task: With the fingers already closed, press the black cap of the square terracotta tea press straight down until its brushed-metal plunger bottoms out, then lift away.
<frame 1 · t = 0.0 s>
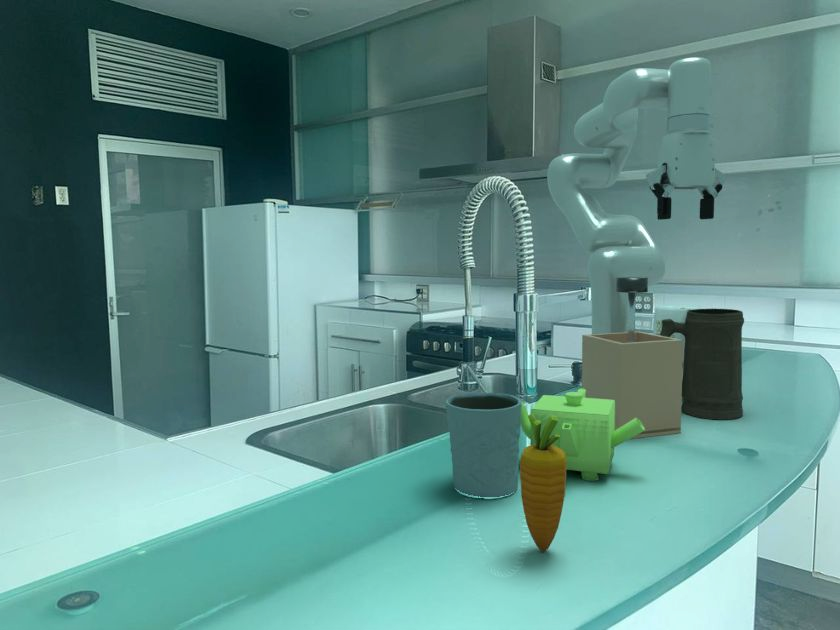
hand: (685, 219, 123), 37 cm above the counter, tool pointing down, fingers open, 9 cm apart
beer stein: (698, 413, 122), on the counter
gray cup: (483, 488, 86), on the counter
carrot: (543, 553, 68), on the counter
plunger: (631, 322, 111), point 19 cm above the counter, slide at 0.0 cm
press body: (629, 426, 113), on the counter
juice carton: (675, 396, 136), on the counter
kettle: (571, 468, 93), on the counter
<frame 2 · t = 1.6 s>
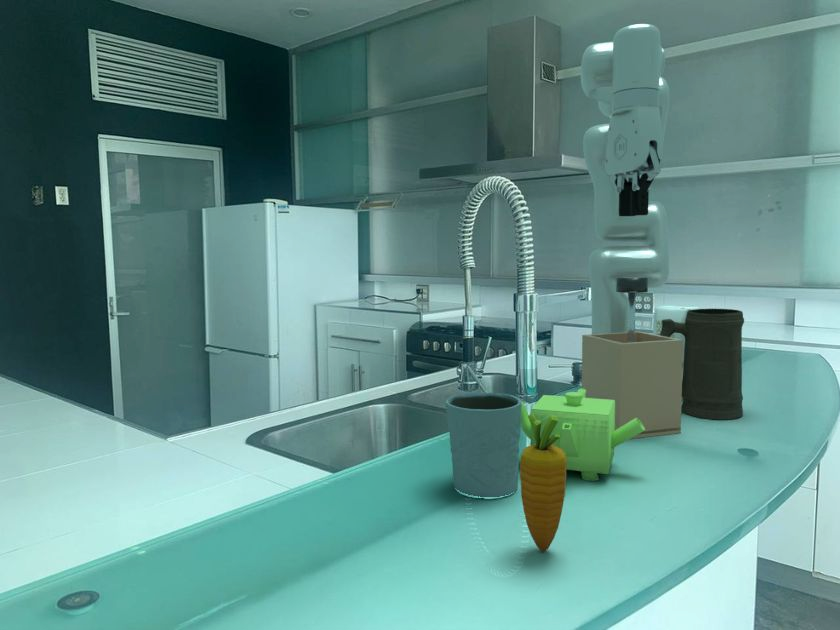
hand: (633, 214, 109), 37 cm above the counter, tool pointing down, fingers closed
nothing on the counter moved.
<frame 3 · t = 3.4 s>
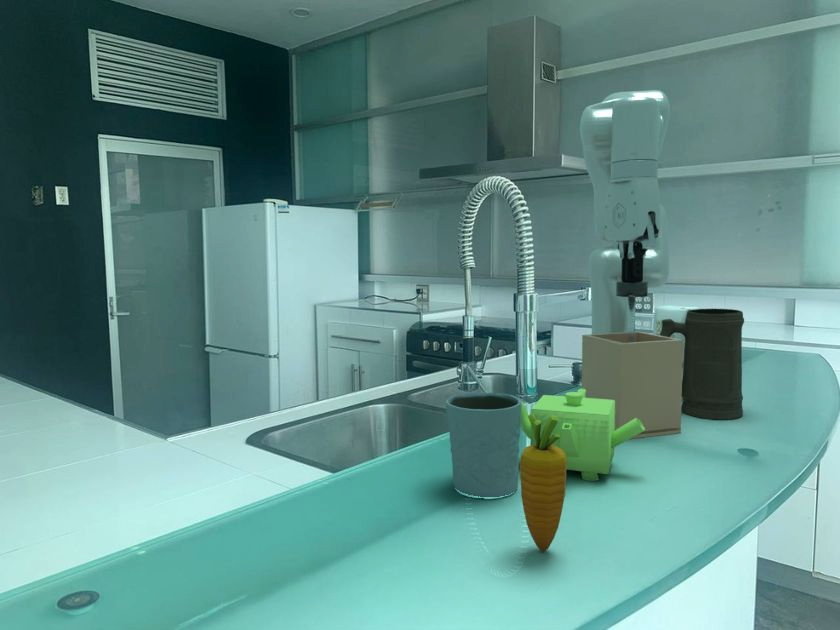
hand: (632, 281, 110), 26 cm above the counter, tool pointing down, fingers closed
plunger: (631, 326, 111), point 18 cm above the counter, slide at 0.7 cm, touching gripper
everything else where it was.
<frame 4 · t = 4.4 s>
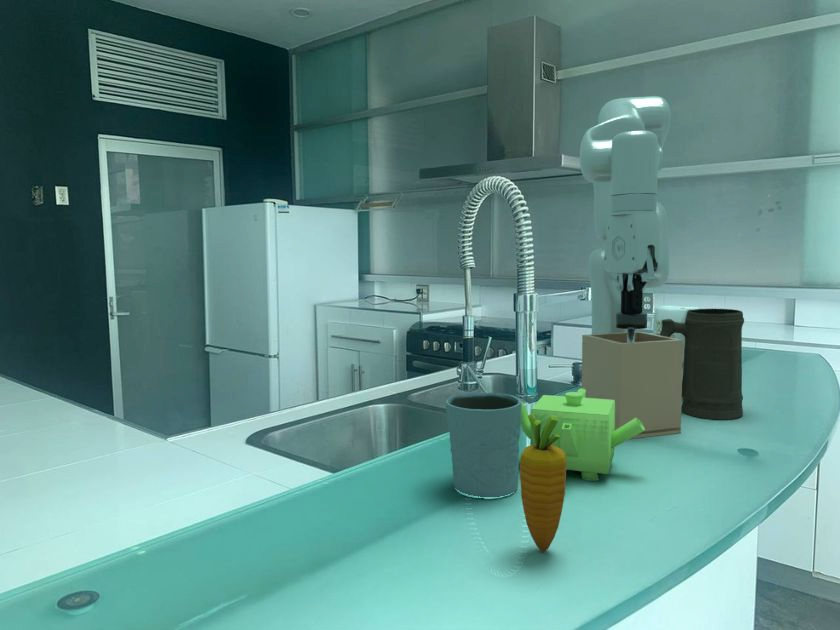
hand: (631, 313, 111), 20 cm above the counter, tool pointing down, fingers closed
plunger: (630, 357, 112), point 12 cm above the counter, slide at 6.2 cm, touching gripper
everything else where it was.
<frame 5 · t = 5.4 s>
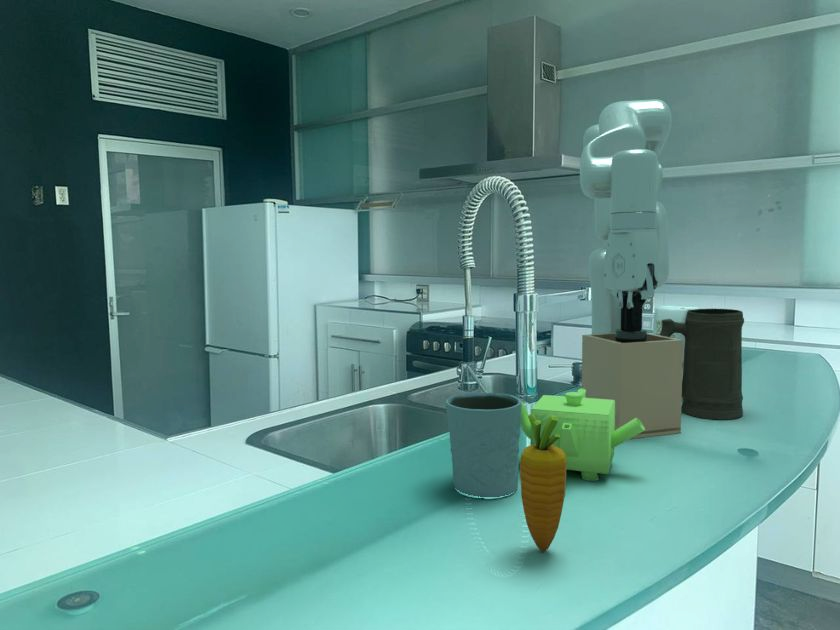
hand: (631, 330, 111), 17 cm above the counter, tool pointing down, fingers closed
plunger: (630, 373, 112), point 10 cm above the counter, slide at 9.2 cm, touching gripper
everything else where it was.
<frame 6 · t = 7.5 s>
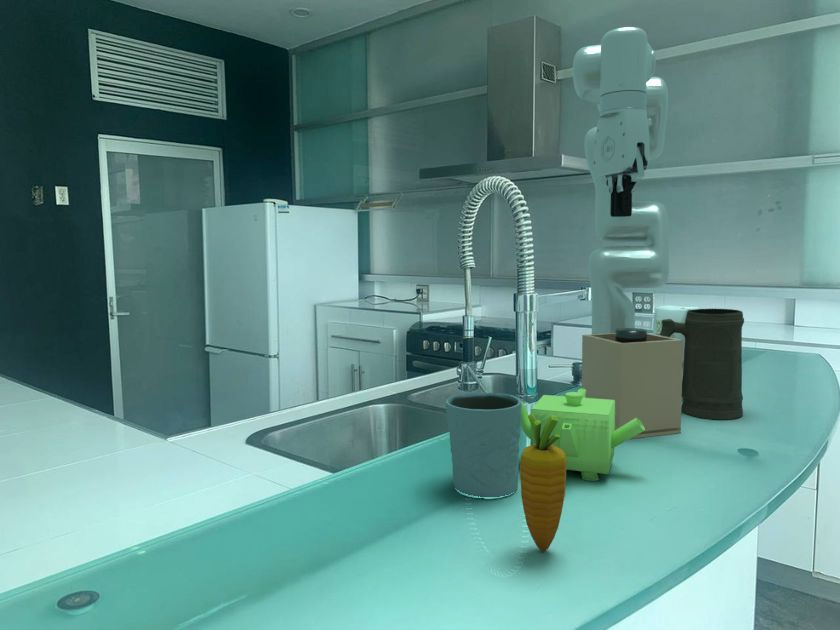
hand: (620, 216, 111), 37 cm above the counter, tool pointing down, fingers closed
plunger: (630, 373, 112), point 10 cm above the counter, slide at 9.1 cm
everything else where it was.
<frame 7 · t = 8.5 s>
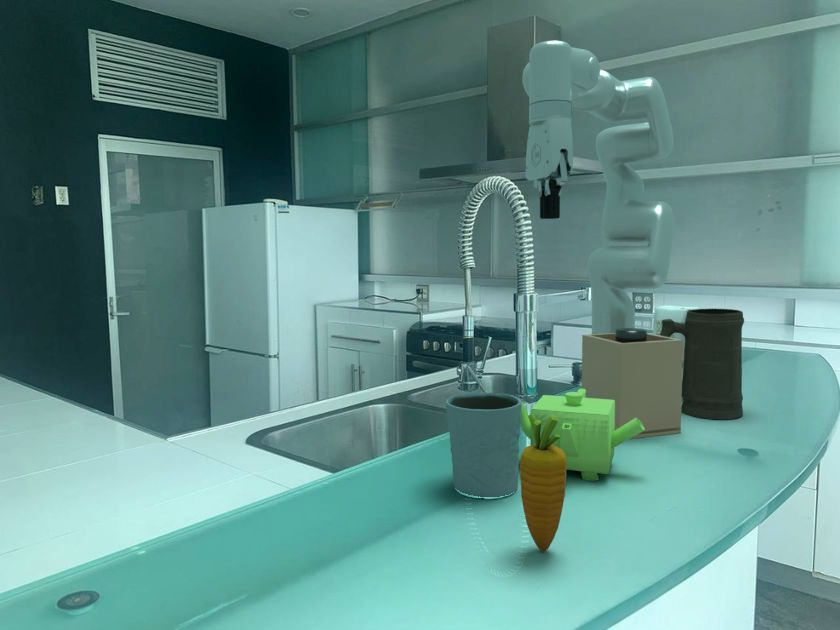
hand: (549, 218, 117), 37 cm above the counter, tool pointing down, fingers closed
nothing on the counter moved.
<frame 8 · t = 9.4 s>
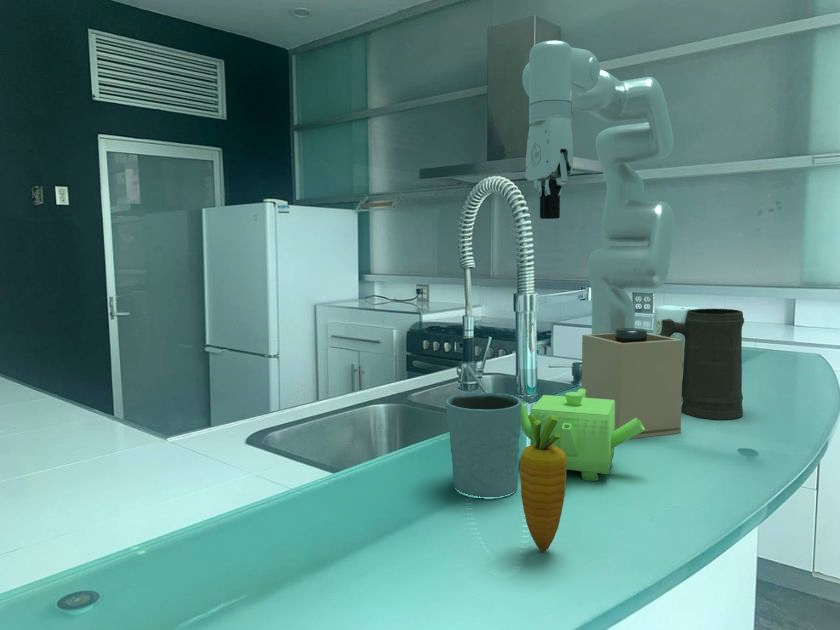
hand: (549, 218, 117), 37 cm above the counter, tool pointing down, fingers closed
nothing on the counter moved.
at the end: plunger slide at 9.1 cm; kettle moved 0.3 cm from its start; beer stein moved 0.2 cm from its start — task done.
